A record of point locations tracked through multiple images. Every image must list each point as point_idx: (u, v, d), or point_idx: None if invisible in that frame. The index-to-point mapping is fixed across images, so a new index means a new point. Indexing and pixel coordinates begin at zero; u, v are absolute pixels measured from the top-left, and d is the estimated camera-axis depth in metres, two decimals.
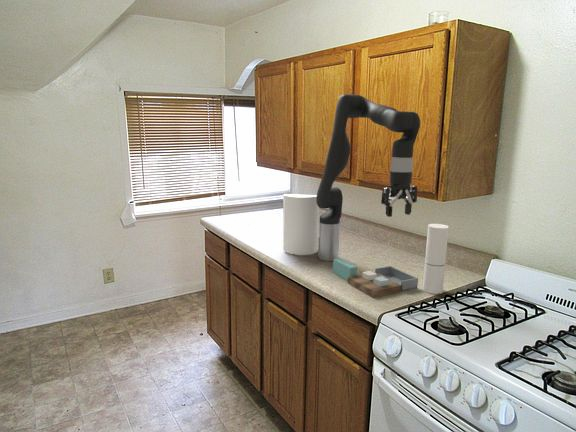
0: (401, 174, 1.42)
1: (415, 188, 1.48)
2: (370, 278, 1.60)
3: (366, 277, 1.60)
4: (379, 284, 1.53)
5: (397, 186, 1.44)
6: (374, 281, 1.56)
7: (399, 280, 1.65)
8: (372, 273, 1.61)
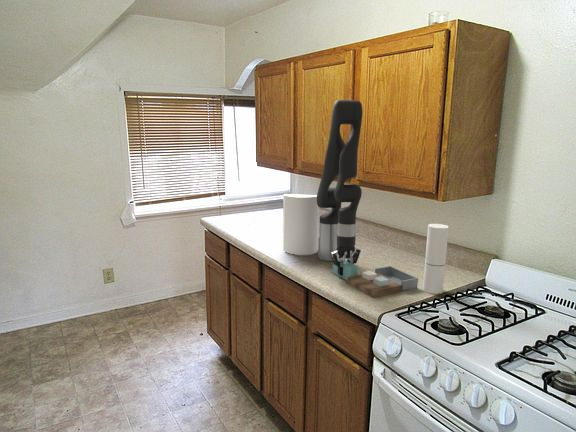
0: (345, 238, 1.63)
1: (358, 251, 1.70)
2: (370, 278, 1.60)
3: (366, 277, 1.60)
4: (379, 284, 1.53)
5: (342, 248, 1.66)
6: (374, 281, 1.56)
7: (399, 280, 1.65)
8: (372, 273, 1.61)
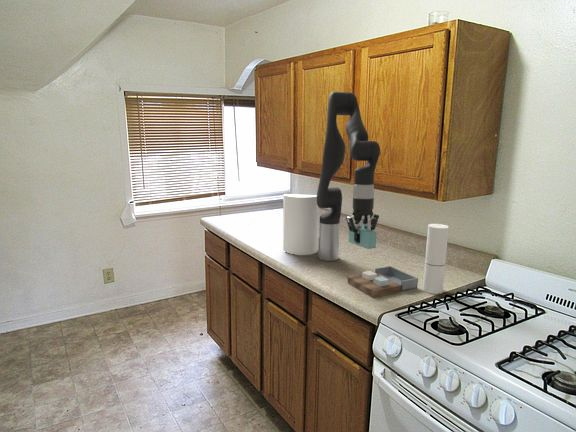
0: (362, 200, 1.48)
1: (377, 217, 1.54)
2: (370, 278, 1.60)
3: (366, 277, 1.60)
4: (379, 284, 1.53)
5: (359, 212, 1.50)
6: (374, 281, 1.56)
7: (399, 280, 1.65)
8: (372, 273, 1.61)
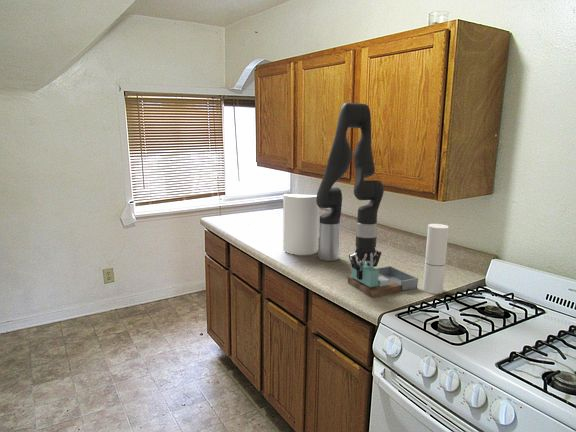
0: (365, 240, 1.49)
1: (379, 253, 1.56)
2: None
3: None
4: (379, 284, 1.53)
5: (362, 250, 1.52)
6: None
7: (399, 280, 1.65)
8: None
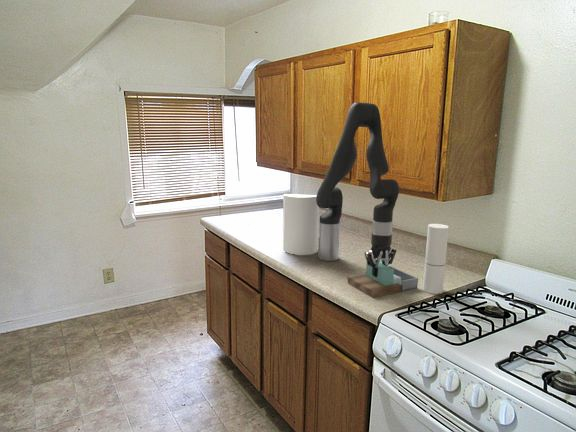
0: (381, 237, 1.52)
1: (394, 251, 1.59)
2: None
3: None
4: None
5: (377, 247, 1.55)
6: None
7: None
8: None
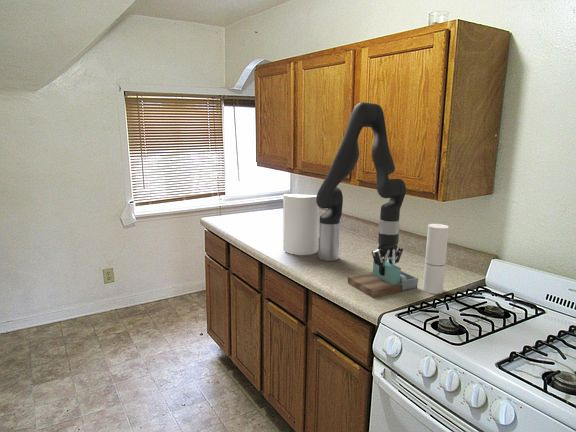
0: (388, 236, 1.54)
1: (401, 250, 1.60)
2: None
3: None
4: (402, 276, 1.58)
5: (384, 246, 1.56)
6: None
7: None
8: None
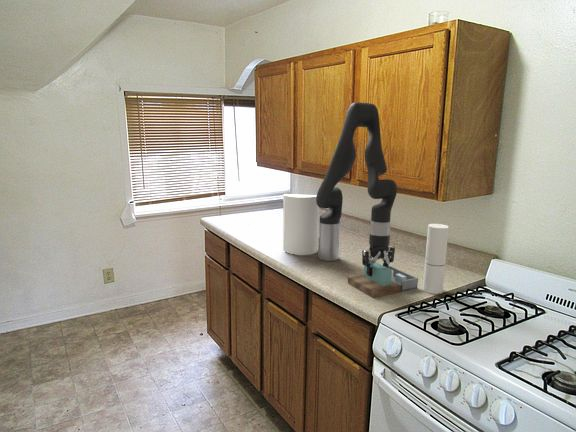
0: (379, 237, 1.52)
1: (393, 249, 1.58)
2: None
3: None
4: (402, 276, 1.58)
5: (375, 248, 1.54)
6: (398, 274, 1.60)
7: None
8: None
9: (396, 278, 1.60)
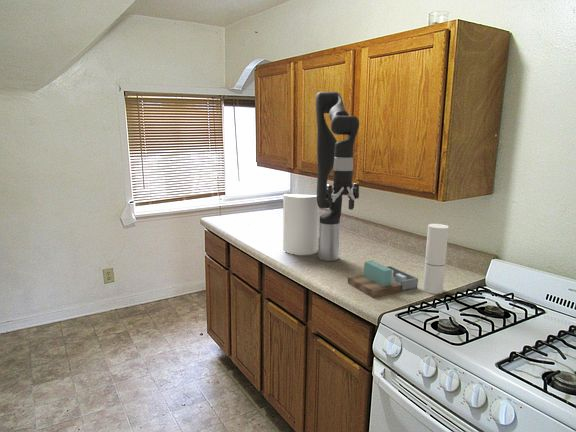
0: (342, 172, 1.56)
1: (357, 185, 1.62)
2: None
3: None
4: (402, 276, 1.58)
5: (339, 183, 1.58)
6: (398, 274, 1.60)
7: None
8: None
9: (396, 278, 1.60)
